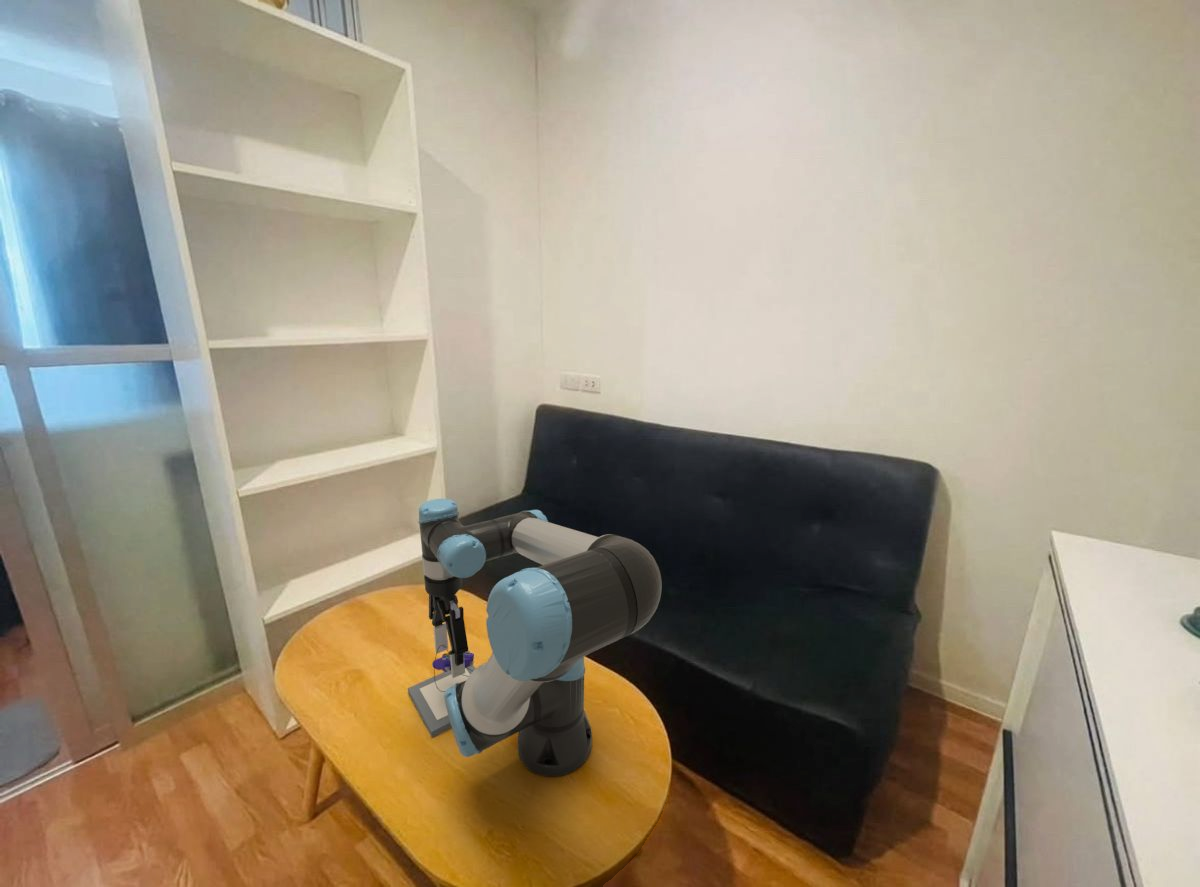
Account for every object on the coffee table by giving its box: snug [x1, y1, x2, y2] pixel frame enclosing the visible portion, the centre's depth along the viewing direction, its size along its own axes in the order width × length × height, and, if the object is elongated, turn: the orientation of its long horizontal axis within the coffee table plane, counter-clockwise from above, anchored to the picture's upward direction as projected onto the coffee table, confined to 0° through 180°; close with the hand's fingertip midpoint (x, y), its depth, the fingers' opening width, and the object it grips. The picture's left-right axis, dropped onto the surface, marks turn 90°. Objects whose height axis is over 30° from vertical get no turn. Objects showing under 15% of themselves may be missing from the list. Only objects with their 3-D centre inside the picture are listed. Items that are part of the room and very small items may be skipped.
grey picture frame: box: [407, 664, 477, 739], centre depth 110 cm, size 15×15×2 cm
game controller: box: [431, 645, 475, 692], centre depth 108 cm, size 10×8×10 cm
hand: (450, 662), depth 108 cm, fingers closed on game controller, 9 cm apart
